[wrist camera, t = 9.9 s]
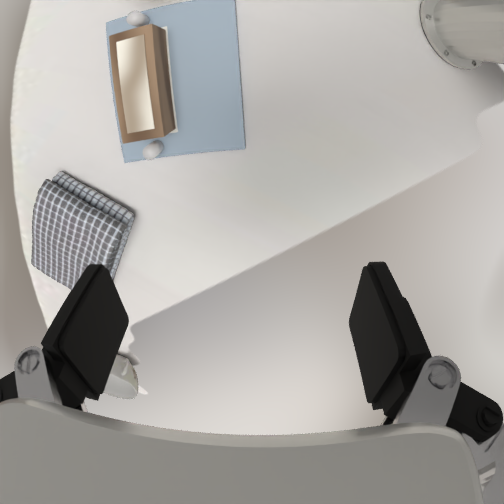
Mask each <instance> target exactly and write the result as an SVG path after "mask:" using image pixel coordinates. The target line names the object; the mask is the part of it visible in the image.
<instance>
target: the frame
mask: <svg viewBox="0 0 504 504" xmlns="http://www.w3.org/2000/svg"><path fill="white" fill-rule="evenodd" d="M109 45H110V57H111V67H112V76H113V85H114V92H115V100H116V107H117V113H118V120H119V126H120V131H121V137H122V143H123V144H125V143H131V142H136V141H142V140H148V139H154V138H160V137H165V136H166V135H167V134H169V133H170V132H171V131H173V130H174V129H176V127H175V119H174V111H173V103H172V94H171V85H170V75H169V65H168V54H167V42H166V30H165V29H163V28H161V27H158V26H156V25H154V24H148V25H144V26H141V27H137V28H133V29H130V30H126V31H123V32H120V33H117V34H113V35H110V36H109Z"/></svg>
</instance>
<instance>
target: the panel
mask: <svg viewBox="0 0 504 504" xmlns="http://www.w3.org/2000/svg"><path fill="white" fill-rule="evenodd" d="M148 24H154V25H156V26H158V27H161V28H163V29H165V30H166V42H167V54H168V65H169V75H170V85H171V94H172V103H173V111H174V119H175V127H176V129H174V130H173V131H171V132H170V133H169V134H167V135H166V136H165V137H160V138H154V139H148V140H142V141H136V142H131V143H125V144H123V143H122V137H121V131H120V126H119V120H118V113H117V107H116V100H115V92H114V85H113V76H112V67H111V57H110V45H109V36H110V35H113V34H117V33H120V32H123V31H126V30H130V29H133V28H137V27H141V26H144V25H148ZM106 31H107V46H108V57H109V67H110V76H111V85H112V92H113V99H114V106H115V113H116V119H117V125H118V131H119V136H120V142H121V147H122V152H123V157H124V162H125V163H127V162H134V161H140V160H146V159H147V160H153V159H154V158H160V157H168V156H175V155H184V154H193V153H203V152H213V151H225V150H239V149H245V136H244V121H243V107H242V93H241V79H240V65H239V51H238V37H237V23H236V8H235V0H192V1H186V2H181V3H176V4H171V5H166V6H162V7H158V8H153V9H149V10H146V11H142V12H138V11H133V12H131V13H129V14H128V16H125V17H122V18H119V19H115V20H112V21H110V22H107V23H106Z"/></svg>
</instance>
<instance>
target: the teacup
mask: <svg viewBox="0 0 504 504" xmlns="http://www.w3.org/2000/svg"><path fill="white" fill-rule="evenodd" d="M103 393H106V394H108V395H111V396H114V397H117V398H122V399H133V398H135V397H136V396H137V394H138V378H137V375H136V372H135V370H134V368H133V366H132V365H131V364H130V362H129V359H128V358H125V357H123V356H121V355H118V354H117V355H116V358H115V361H114V364H113V366H112V369H111V372H110V375H109V378H108V381H107V384H106V386H105V389H104V392H103Z"/></svg>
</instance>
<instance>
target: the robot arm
mask: <svg viewBox="0 0 504 504" xmlns="http://www.w3.org/2000/svg"><path fill="white" fill-rule="evenodd" d="M420 15H421V22H422V27H423V29H424V32H425V35H426V37H427V39H428V41H429V42H430V44H431V45H432V47H433V48H434V50H435V51H436V52H437V53H438V54H439V56H441V57H442V58H443V59H444V60H445V61H446V62H448V63H449V64H451V65H453V66H455V67H457V68H462V69H475V68H477V67H479V66H480V65H481V64H482V63H483V62H484V61H487V62H494V63H500V64H504V0H423V1H422V4H421V9H420ZM128 323H129V319H128V315H127V313H126V311H125V308H124V306H123V304H122V302H121V299H120V297H119V294H118V292H117V290H116V287H115V285H114V282H113V280H112V277H111V275H110V272H109V270H108V269H107V268H105V266H104V265H103V264H89V265H88V266H87V267H86V269H85V270H84V272H83V273H82V275H81V276H80V278H79V279H78V281H77V282H76V284H75V286H74V287H73V289H72V290H71V292H70V293H69V295H68V297H67V298H66V300H65V302H64V303H63V305H62V307H61V308H60V310H59V312H58V313H57V315H56V317H55V318H54V320H53V322H52V324H51V325H50V327H49V329H48V331H47V333H46V335H45V336H44V338H43V340H42V342H41V344H42V345H43V349H42V350H41V349H40V348H38V347H36V346H31V347H28V348H26V349H24V350H23V351H22V352H21V353H20V354H19V355H18V357H17V359H16V361H15V368H14V369H15V371H13V372H12V373H10V374H8V375H7V376H5V377H3V378H2V379H0V504H504V424H503V414H502V411H501V408H500V407H499V405H498V404H497V403H496V402H494V401H493V400H492V399H490V398H488V397H486V396H485V395H483V394H481V393H479V392H478V391H476V390H474V389H473V388H471V387H469V386H467V385H466V384H464V383H462V382H460V381H461V374H460V371H459V368H458V367H457V365H456V364H455V363H454V362H453V361H452V360H451V359H449V358H447V357H444V356H434V357H432V356H431V353H430V351H429V349H428V346H427V344H426V341H425V339H424V336H423V334H422V332H421V329H420V327H419V325H418V323H417V321H416V318H415V316H414V314H413V312H412V309H411V307H410V305H409V303H408V301H407V300H406V298H404V297H402V295H401V293H400V290H399V288H398V286H397V284H396V282H395V280H394V278H393V276H392V274H391V272H390V270H389V269H388V266H387V265H386V263H385V262H369V263H368V265H367V266H365V267H363V270H362V274H361V278H360V281H359V285H358V289H357V293H356V297H355V300H354V304H353V308H352V311H351V314H350V318H349V327H350V331H351V334H352V338H353V342H354V346H355V351H356V355H357V359H358V363H359V367H360V372H361V376H362V380H363V385H364V390H365V394H366V399H367V402H368V403H372V407H373V410H376V409H383V411H384V415H386V417H385V418H384V420H383V422H382V423H381V425H380V426H376V427H367V428H360V429H353V430H344V431H334V432H323V433H311V434H294V435H230V434H212V433H201V432H190V431H182V430H174V429H166V428H159V427H153V426H146V425H141V424H136V423H131V422H126V421H121V420H116V419H112V418H108V417H104V416H100V415H95V414H92V413H88V411H87V408H86V405H85V403H84V399H85V397H87V398H89V399H94V400H98V399H99V396H100V394H102V393H103V392H104V389H105V386H106V384H107V381H108V378H109V375H110V372H111V369H112V366H113V364H114V361H115V358H116V355H117V353H118V350H119V347H120V345H121V342H122V339H123V337H124V334H125V332H126V329H127V327H128Z"/></svg>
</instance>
